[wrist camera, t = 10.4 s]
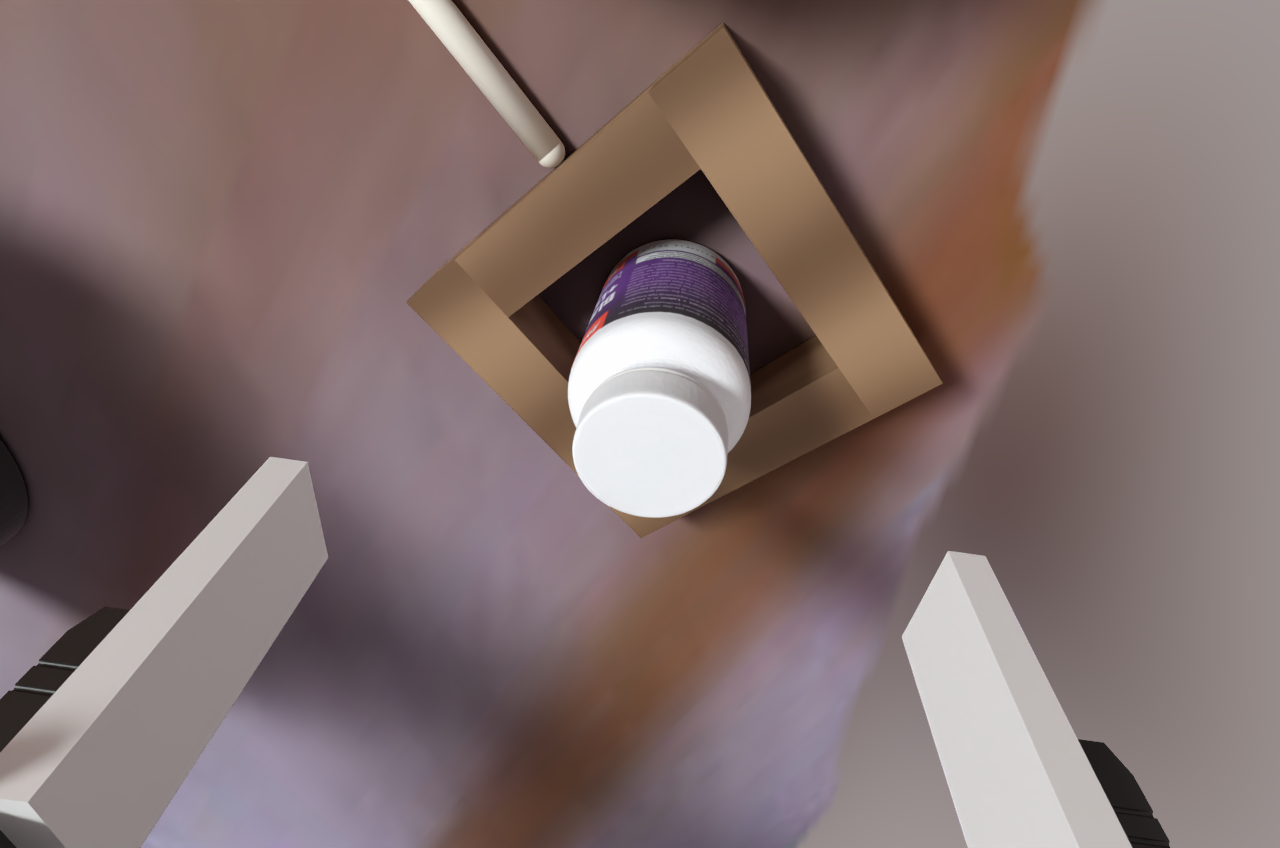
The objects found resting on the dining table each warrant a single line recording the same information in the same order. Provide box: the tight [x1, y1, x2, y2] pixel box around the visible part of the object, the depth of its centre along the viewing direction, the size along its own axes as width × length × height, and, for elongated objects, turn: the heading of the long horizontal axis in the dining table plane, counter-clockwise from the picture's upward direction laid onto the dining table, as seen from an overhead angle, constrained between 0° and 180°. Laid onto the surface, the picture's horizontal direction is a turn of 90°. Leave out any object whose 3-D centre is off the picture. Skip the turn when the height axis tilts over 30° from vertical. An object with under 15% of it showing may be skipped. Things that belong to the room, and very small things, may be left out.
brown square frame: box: [406, 23, 943, 538], centre depth 23 cm, size 13×13×3 cm
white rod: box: [409, 0, 565, 168], centre depth 19 cm, size 11×1×1 cm, turn 38°
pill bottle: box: [568, 239, 751, 518], centre depth 20 cm, size 5×5×10 cm
